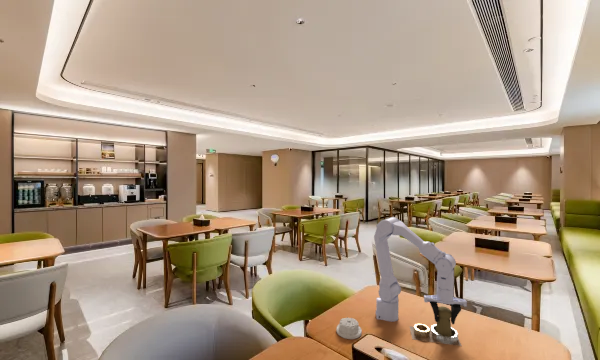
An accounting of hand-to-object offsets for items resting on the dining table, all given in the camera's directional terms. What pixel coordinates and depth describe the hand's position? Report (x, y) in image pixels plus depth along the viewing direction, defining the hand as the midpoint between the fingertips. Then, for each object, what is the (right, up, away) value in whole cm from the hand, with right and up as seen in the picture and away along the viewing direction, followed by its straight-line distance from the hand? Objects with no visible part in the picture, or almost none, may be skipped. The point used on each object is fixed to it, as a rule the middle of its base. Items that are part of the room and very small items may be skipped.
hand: (444, 321), depth 110 cm
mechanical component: (-36, -7, +6) cm, 37 cm away
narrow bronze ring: (-8, -6, +2) cm, 10 cm away
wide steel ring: (0, -6, 0) cm, 6 cm away
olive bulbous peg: (0, -6, +1) cm, 6 cm away
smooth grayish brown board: (-3, -7, +1) cm, 8 cm away
